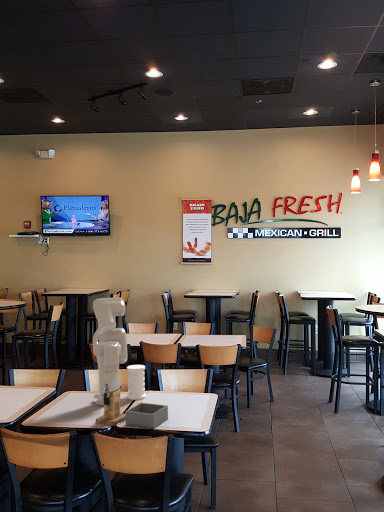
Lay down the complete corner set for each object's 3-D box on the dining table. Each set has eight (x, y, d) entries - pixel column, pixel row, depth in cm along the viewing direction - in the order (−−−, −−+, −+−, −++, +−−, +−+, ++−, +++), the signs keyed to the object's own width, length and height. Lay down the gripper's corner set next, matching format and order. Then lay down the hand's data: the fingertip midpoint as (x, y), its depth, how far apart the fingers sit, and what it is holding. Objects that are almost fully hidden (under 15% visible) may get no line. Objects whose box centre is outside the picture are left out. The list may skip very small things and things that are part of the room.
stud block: (95, 423, 247) (95, 404, 247) (108, 415, 258) (108, 398, 258) (116, 425, 242) (115, 406, 242) (128, 418, 253) (128, 400, 253)
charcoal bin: (125, 425, 242) (125, 411, 242) (141, 415, 256) (141, 402, 256) (153, 429, 236) (153, 414, 236) (168, 419, 250) (167, 405, 250)
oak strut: (104, 417, 248) (103, 392, 248) (110, 414, 253) (110, 389, 254) (114, 419, 246) (113, 393, 246) (120, 415, 251) (119, 390, 251)
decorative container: (122, 398, 290) (122, 367, 290) (134, 393, 300) (133, 364, 300) (139, 400, 284) (138, 369, 284) (150, 395, 295) (149, 365, 295)
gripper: (114, 364, 259) (115, 397, 259) (95, 371, 243) (96, 406, 243) (126, 365, 256) (127, 398, 256) (108, 372, 240) (108, 407, 240)
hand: (112, 402), depth 249 cm, fingers open, 9 cm apart
